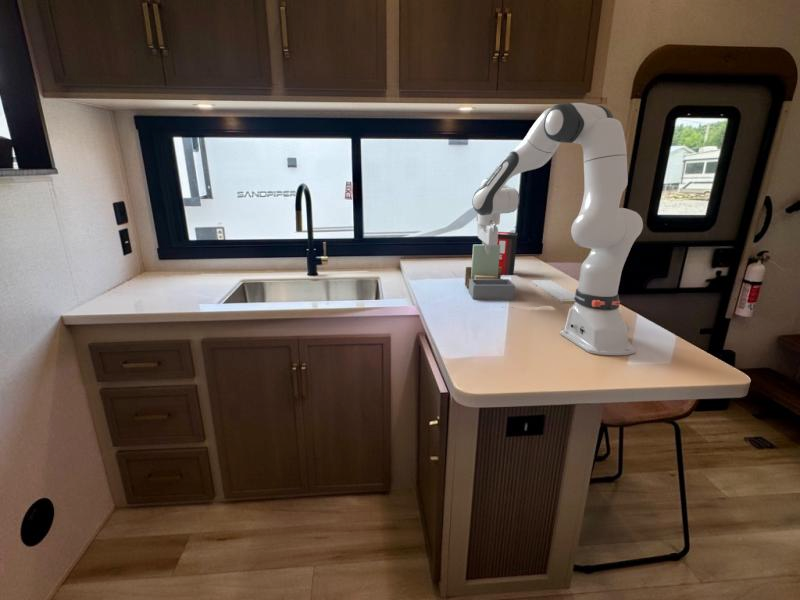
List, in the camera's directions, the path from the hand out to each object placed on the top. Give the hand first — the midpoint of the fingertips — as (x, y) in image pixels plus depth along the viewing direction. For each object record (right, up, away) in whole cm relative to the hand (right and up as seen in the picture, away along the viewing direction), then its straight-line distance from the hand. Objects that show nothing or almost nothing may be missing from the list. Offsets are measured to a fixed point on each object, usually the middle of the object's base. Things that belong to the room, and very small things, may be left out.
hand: (486, 253), depth 171 cm
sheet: (0, -14, +5) cm, 15 cm away
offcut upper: (-1, -12, -1) cm, 13 cm away
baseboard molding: (+32, -17, +4) cm, 36 cm away
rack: (0, -16, +3) cm, 16 cm away
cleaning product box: (+12, -7, +33) cm, 36 cm away
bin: (0, -19, -7) cm, 20 cm away
